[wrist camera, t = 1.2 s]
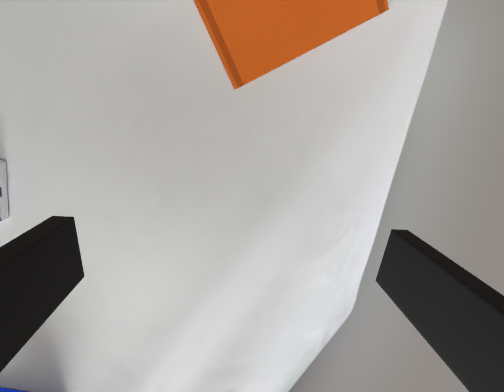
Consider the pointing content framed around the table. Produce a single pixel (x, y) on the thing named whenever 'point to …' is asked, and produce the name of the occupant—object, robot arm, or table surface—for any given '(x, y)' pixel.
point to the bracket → (9, 390)
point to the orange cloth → (277, 30)
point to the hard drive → (3, 191)
